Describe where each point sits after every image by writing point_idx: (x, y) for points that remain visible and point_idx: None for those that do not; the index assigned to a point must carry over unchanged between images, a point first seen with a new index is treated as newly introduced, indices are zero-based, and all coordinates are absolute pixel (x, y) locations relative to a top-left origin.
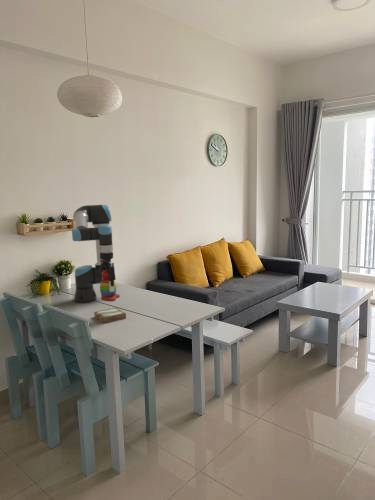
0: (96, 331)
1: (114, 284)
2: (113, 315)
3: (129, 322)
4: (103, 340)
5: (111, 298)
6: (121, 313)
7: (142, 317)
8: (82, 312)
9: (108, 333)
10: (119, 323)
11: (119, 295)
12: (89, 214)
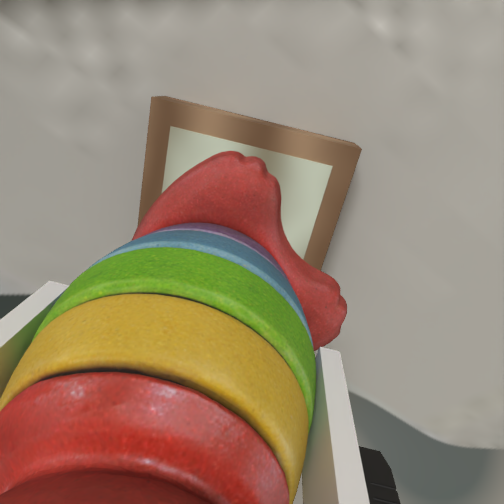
0: (369, 393)
1: (296, 382)
2: (313, 246)
3: (446, 187)
4: (500, 438)
5: (324, 340)
6: (330, 175)
7: (470, 28)
8: (4, 262)
9: (455, 377)
10: (392, 244)
11: (261, 167)
12: None
